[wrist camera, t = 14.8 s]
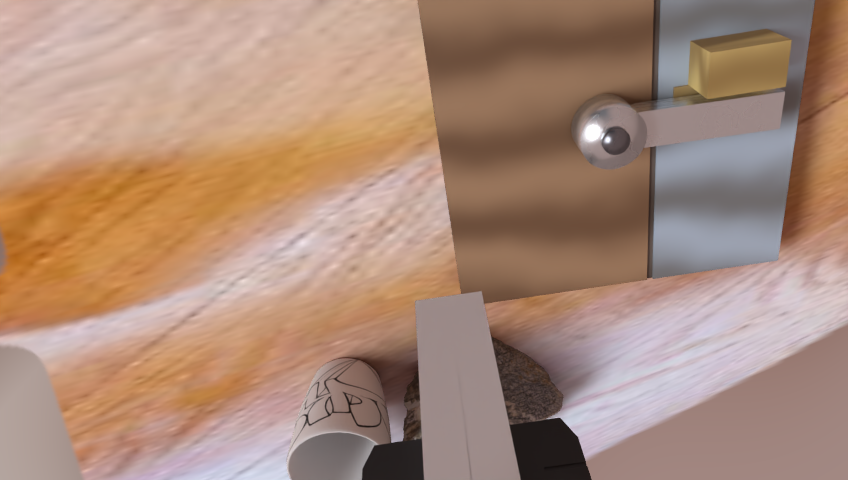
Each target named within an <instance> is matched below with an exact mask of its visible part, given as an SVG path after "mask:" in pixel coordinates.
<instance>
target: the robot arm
mask: <svg viewBox="0 0 848 480" xmlns="http://www.w3.org/2000/svg"><path fill="white" fill-rule="evenodd" d="M415 309H416V328H417V348H418V368H419V388H420V408H421V428H422V439H416V440H409V441H401V442H394V443H387V444H380V445H374V447H373V449H372V451H371V453H370V455H369V457H368V459H367V461H366V463H365V465H364V467H363V469H362V480H591V476H590V473H589V470H588V467H587V466H586V461H585V458H584V455H583V452H582V449H581V445H580V442H579V439H578V437H577V436H576V435H575V434H574V433H573V431H572V430H571V429H570V428H569V427H568V426H567V425H566V424H565V423H564V422H563V421H562V419H561V418H555V419H548V420H541V421H533V422H526V423H519V424H512V425H509V421H508V416H507V411H506V407H505V402H504V397H503V392H502V387H501V382H500V378H499V373H498V368H497V363H496V358H495V354H494V349H493V344H492V339H491V334H490V330H489V325H488V320H487V315H486V310H485V306H484V301H483V296H482V291H479V292H472V293H465V294H459V295H452V296H445V297H438V298H432V299H425V300H418V301H415Z"/></svg>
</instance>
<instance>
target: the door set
mask: <svg viewBox="0 0 848 480" xmlns="http://www.w3.org/2000/svg"><path fill="white" fill-rule="evenodd" d="M814 4H815V0H418V6H419V13H420V19H421V26H422V33H423V39H424V46H425V53H426V60H427V66H428V73H429V80H430V87H431V93H432V100H433V107H434V114H435V120H436V127H437V134H438V141H439V147H440V154H441V161H442V167H443V174H444V181H445V188H446V194H447V201H448V208H449V215H450V221H451V228H452V235H453V242H454V248H455V255H456V262H457V268H458V275H459V282H460V289H461V294H465V293H472V292H479V291H482V296H483V301H484V304H485V303H492V302H498V301H505V300H512V299H519V298H526V297H532V296H539V295H546V294H553V293H560V292H566V291H573V290H580V289H587V288H594V287H600V286H607V285H614V284H621V283H628V282H634V281H641V280H647V278H653V279H655V278H662V277H668V276H675V275H682V274H689V273H696V272H702V271H709V270H716V269H723V268H730V267H736V266H743V265H750V264H757V263H764V262H770V261H777V260H778V256H779V249H780V242H781V235H782V228H783V221H784V214H785V207H786V200H787V193H788V186H789V179H790V172H791V165H792V158H793V151H794V144H795V137H796V130H797V123H798V116H799V109H800V102H801V95H802V88H803V81H804V74H805V67H806V60H807V53H808V46H809V39H810V32H811V25H812V18H813V11H814ZM775 88H780V89H781V90H783V91H785V97H784V103H783V110H782V117H781V124H780V129H775V130H768V131H761V132H754V133H747V134H739V135H732V136H725V137H718V138H711V139H704V140H697V141H690V142H682V143H675V144H668V145H661V146H654V147H647V148H643V150H642V152H641V153H640V154H639V156H638V157H637V158H636V159H635V160H633V161H632V162H631V163H629V164H628V165H626V166H624V167H621V168H618V169H611V170H607V169H601V168H597V167H595V166H593V165H592V164H591V163H589V162H588V161H587V159H586V158H585V157H584V155H583V154H582V152H581V150H580V149H579V147H578V146H577V144H576V143H575V141H574V139H573V137H572V133H571V124H572V120H573V117H574V115H575V113H576V111H577V110H578V108H579V107H580V106H581V105H582V104H583V103H584V102H585V101H587V100H588V99H590V98H592V97H594V96H597V95H601V94H613V95H617V96H619V97H621V98H623V99H624V100H626V101H627V102H628V103H629V104H633V103H640V102H647V101H654V100H661V99H668V98H675V97H682V96H689V95H696V94H701V95H703V96H704V97H705V98H707V99H711V98H718V97H724V96H731V95H737V94H743V93H750V92H756V91H762V90H769V89H775Z"/></svg>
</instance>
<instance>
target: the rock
mask: <svg viewBox="0 0 848 480" xmlns="http://www.w3.org/2000/svg"><path fill="white" fill-rule="evenodd" d="M491 339H492V344H493V349H494V354H495V358H496V363H497V368H498V373H499V378H500V382H501V387H502V392H503V397H504V402H505V407H506V411H507V416H508V421H509V425H512V424H519V423H526V422H533V421H541V420H545V418H547V417H549V416H551V415H554V414H556V413H557V412H558V411H560V409H561V407H562V400H563V394H562V393H561V392H560V391H558V389H557V388H556V387H555V385H554V384H553V383H552V382H551V380H550V378H549V375H548V374H547V372H546V371H545V370H544V369H543V368H542V367H541V366H539V365H538V364H536V363H535V362H534V361H533V360H532V359H531V358H529V357H528V356H527V355H525V354H524V353H522V352H520V351H518V350H515V349H514V348H512V347H510V346H508V345H505V344H504V343H502V342H501V341H499V340H496V339H494V338H493V337H491ZM404 404H405V406H406V408H407V416H406V418H405V420H404V428H403V430H404V438H403V441H409V440H416V439H422V428H421V408H420V388H419V370H418V372H417V373H416V375H415V376H414V379H413V381H412V382H411V383H410V384H409V385H408V387H407V392H406V395H405V397H404Z"/></svg>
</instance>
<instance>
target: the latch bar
mask: <svg viewBox="0 0 848 480" xmlns="http://www.w3.org/2000/svg"><path fill="white" fill-rule="evenodd" d="M784 97H785V91H783V90H781V89H780V88H775V89H769V90H762V91H756V92H750V93H743V94H737V95H731V96H724V97H718V98H711V99H707V98H705V97H704V96H703V95H701V94H696V95H689V96H682V97H675V98H668V99H661V100H654V101H647V102H640V103H633V104H629V103H628V102H627V101H626V100H624V99H623V98H621V97H619V96H617V95H613V94H601V95H597V96H594V97H592V98H590V99H588V100H587V101H585V102H584V103H583V104H582V105H581V106H580V107H579V108H578V110H577V111H576V113H575V115H574V117H573V120H572V124H571V133H572V137H573V139H574V141H575V143H576V144H577V146H578V147H579V149H580V150H581V152H582V154H583V155H584V157H585V158H586V159H587V161H588V162H589V163H591V164H592V165H593V166H595V167H597V168H601V169H607V170H611V169H618V168H621V167H624V166H626V165H628V164H629V163H631V162H632V161H633V160H635V159H636V158H637V157H638V156H639V154H640V153H641V152H642V150H643V148H647V147H654V146H661V145H668V144H675V143H682V142H690V141H697V140H704V139H711V138H718V137H725V136H732V135H739V134H747V133H754V132H761V131H768V130H775V129H780V124H781V117H782V110H783V103H784Z"/></svg>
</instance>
